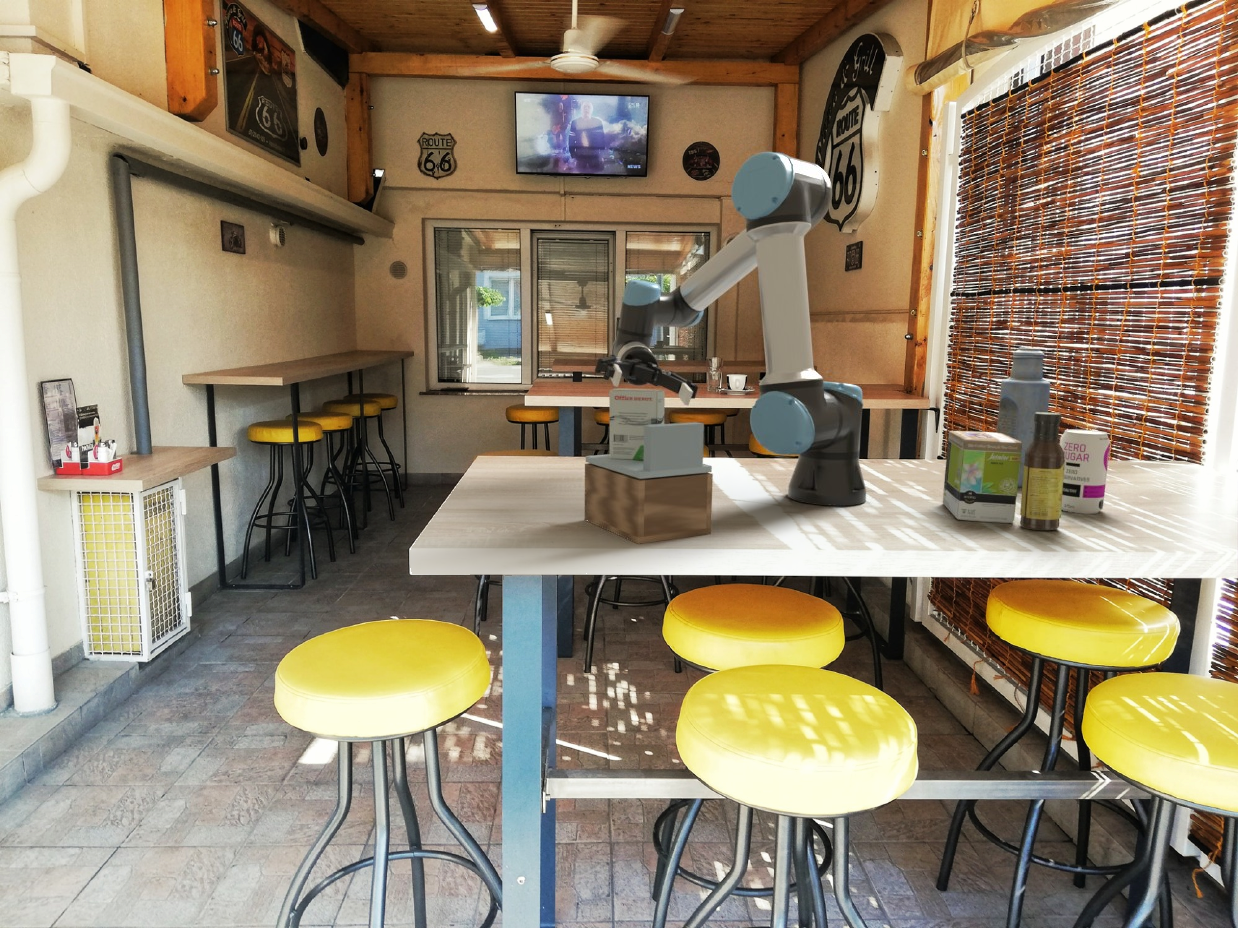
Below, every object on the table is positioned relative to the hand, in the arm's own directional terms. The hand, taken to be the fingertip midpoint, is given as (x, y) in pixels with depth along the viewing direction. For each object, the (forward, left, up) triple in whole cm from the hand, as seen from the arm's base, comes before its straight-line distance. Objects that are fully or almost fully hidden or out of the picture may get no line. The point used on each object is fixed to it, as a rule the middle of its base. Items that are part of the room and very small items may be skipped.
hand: (653, 388), depth 150 cm
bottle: (-83, -31, -23) cm, 91 cm away
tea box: (-61, 0, -23) cm, 65 cm away
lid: (+2, +13, -12) cm, 18 cm away
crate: (+1, +13, -22) cm, 26 cm away
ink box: (+3, +11, -11) cm, 16 cm away
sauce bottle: (-67, +11, -23) cm, 71 cm away
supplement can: (-82, -4, -23) cm, 85 cm away
